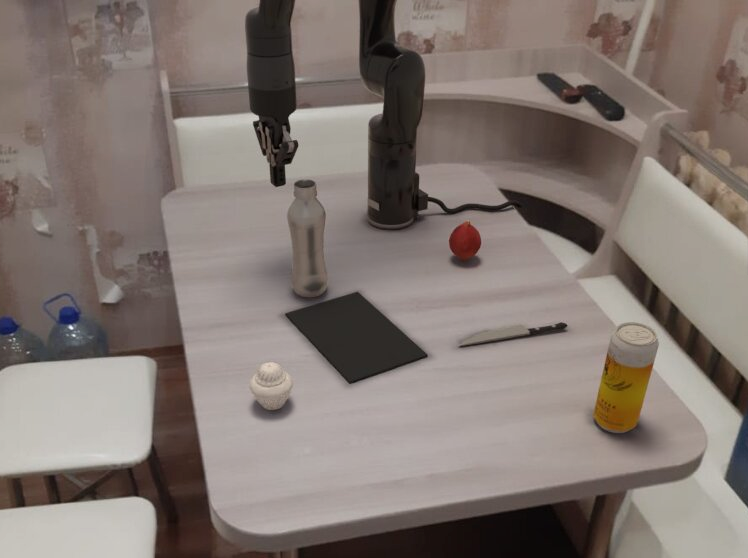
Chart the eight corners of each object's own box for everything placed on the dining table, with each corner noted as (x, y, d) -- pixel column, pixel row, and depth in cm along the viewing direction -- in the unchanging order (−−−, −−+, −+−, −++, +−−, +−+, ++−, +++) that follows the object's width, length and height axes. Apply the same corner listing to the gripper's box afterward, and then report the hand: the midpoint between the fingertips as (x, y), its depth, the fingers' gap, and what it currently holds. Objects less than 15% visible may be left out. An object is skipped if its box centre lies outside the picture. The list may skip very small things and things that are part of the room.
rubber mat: (357, 293, 144) (357, 291, 144) (427, 356, 129) (427, 354, 129) (285, 315, 138) (285, 313, 138) (349, 383, 123) (349, 381, 123)
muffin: (275, 385, 123) (272, 346, 119) (302, 403, 120) (300, 364, 115) (242, 403, 120) (238, 364, 115) (269, 422, 116) (266, 383, 112)
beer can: (587, 409, 119) (606, 321, 109) (628, 407, 119) (651, 319, 110) (600, 436, 114) (621, 347, 105) (642, 434, 114) (667, 345, 105)
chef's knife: (451, 338, 133) (457, 347, 131) (451, 332, 132) (457, 341, 130) (560, 321, 137) (568, 329, 134) (560, 315, 136) (569, 323, 134)
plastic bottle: (330, 283, 146) (327, 176, 134) (325, 303, 141) (322, 193, 129) (294, 281, 147) (288, 174, 134) (288, 301, 142) (281, 191, 129)
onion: (443, 264, 152) (446, 224, 147) (453, 250, 156) (456, 210, 151) (474, 269, 150) (478, 229, 145) (483, 255, 154) (487, 216, 149)
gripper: (312, 88, 127) (315, 194, 138) (275, 66, 136) (281, 167, 147) (267, 96, 124) (275, 203, 135) (233, 73, 133) (242, 175, 144)
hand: (278, 184), depth 141 cm, fingers closed
